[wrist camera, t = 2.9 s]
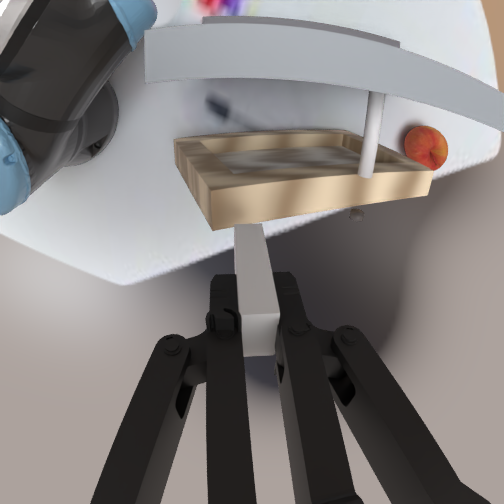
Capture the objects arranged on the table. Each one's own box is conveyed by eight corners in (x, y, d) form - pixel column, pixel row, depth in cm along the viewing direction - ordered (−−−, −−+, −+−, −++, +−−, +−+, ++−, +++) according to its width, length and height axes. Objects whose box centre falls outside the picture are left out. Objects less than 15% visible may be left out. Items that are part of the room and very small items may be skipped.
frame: (175, 168, 32) (219, 250, 19) (173, 138, 30) (218, 200, 17) (342, 153, 40) (436, 206, 27) (345, 130, 38) (444, 176, 25)
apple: (433, 127, 40) (462, 141, 33) (422, 164, 44) (448, 183, 37) (401, 115, 39) (429, 127, 32) (390, 155, 43) (416, 173, 36)
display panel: (203, 120, 38) (159, 230, 14) (203, 18, 29) (153, -79, 5) (385, 131, 40) (528, 231, 16) (394, 42, 31) (564, 65, 7)
